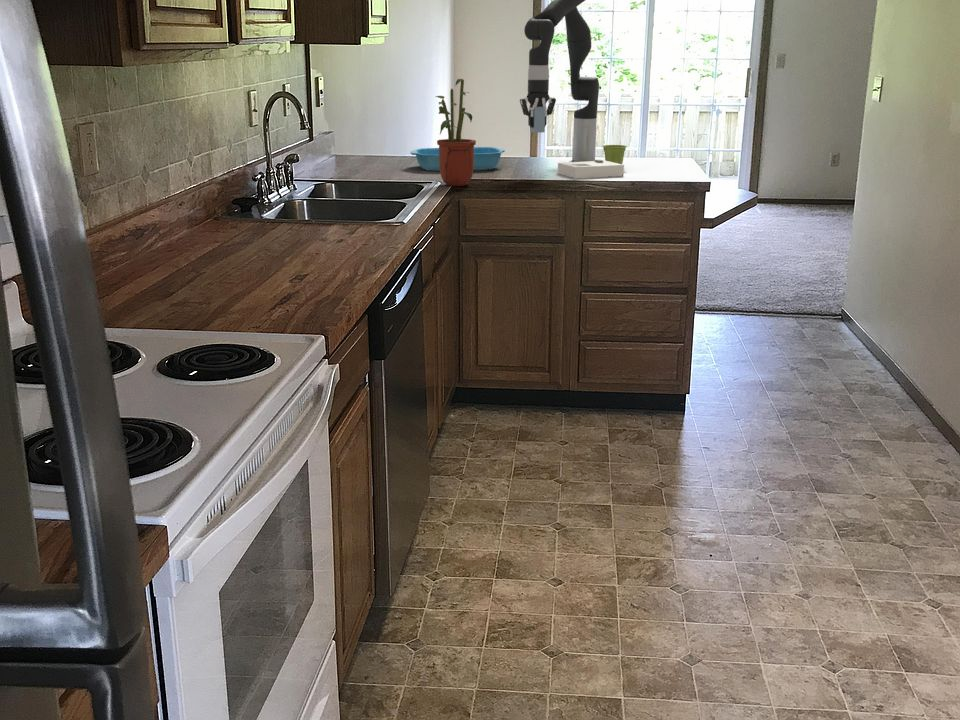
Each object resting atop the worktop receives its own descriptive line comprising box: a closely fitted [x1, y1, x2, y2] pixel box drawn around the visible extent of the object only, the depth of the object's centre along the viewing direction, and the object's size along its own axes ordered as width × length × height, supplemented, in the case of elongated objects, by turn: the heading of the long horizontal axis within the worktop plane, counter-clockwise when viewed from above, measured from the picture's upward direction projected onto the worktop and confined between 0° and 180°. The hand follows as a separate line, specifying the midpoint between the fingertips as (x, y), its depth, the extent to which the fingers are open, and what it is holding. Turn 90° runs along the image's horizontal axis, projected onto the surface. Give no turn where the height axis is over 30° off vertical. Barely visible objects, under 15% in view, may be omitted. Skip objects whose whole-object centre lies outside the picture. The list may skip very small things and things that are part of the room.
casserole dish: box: [409, 146, 506, 172], centre depth 374 cm, size 37×22×7 cm, turn 100°
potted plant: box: [434, 78, 477, 187], centre depth 325 cm, size 17×16×35 cm
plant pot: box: [601, 144, 628, 165], centre depth 373 cm, size 9×9×9 cm
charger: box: [529, 106, 546, 134], centre depth 351 cm, size 4×4×9 cm
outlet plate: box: [557, 159, 625, 179], centre depth 356 cm, size 14×20×5 cm
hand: (537, 127), depth 352 cm, fingers closed on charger, 4 cm apart
